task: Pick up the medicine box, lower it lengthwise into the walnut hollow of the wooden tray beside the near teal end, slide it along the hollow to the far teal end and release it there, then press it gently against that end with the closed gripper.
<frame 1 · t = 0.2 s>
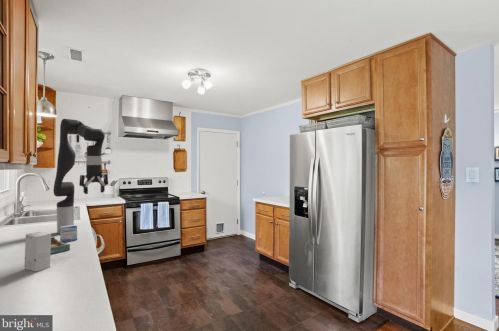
hand: (94, 193, 148), 28 cm above the counter, tool pointing down, fingers open, 8 cm apart
wooden tray: (51, 248, 142), on the counter
skincare box: (38, 268, 114), on the counter
medicine box: (68, 241, 156), on the counter
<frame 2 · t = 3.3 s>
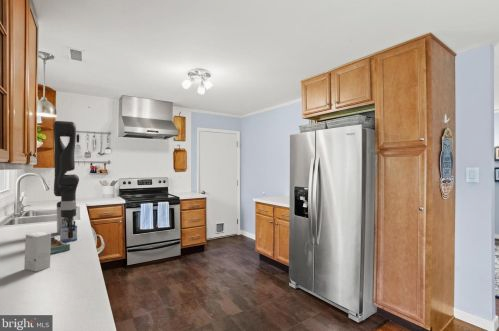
hand: (68, 237, 156), 2 cm above the counter, tool pointing down, fingers closed on medicine box, 5 cm apart
medicine box: (68, 240, 156), on the counter, touching gripper
everything else where it was.
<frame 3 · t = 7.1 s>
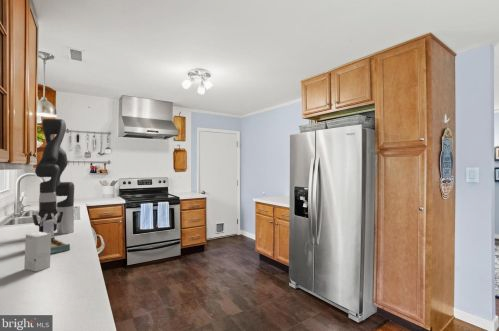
hand: (48, 231, 144), 8 cm above the counter, tool pointing down, fingers closed on medicine box, 5 cm apart
medicine box: (48, 235, 144), point 6 cm above the counter, touching gripper
everything else where it was.
when the fingers open (4 cm above the counter, at t = 10.8 s): medicine box drops 1 cm, resting on wooden tray.
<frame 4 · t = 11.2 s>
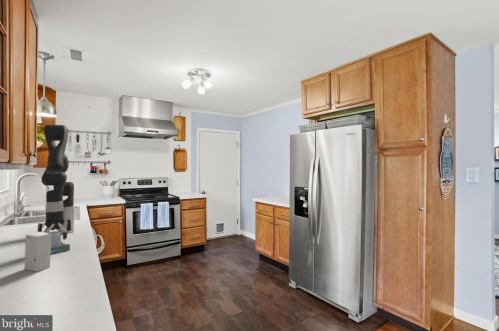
hand: (54, 241, 138), 5 cm above the counter, tool pointing down, fingers open, 8 cm apart
medicine box: (54, 249, 138), resting on wooden tray
everything else where it was.
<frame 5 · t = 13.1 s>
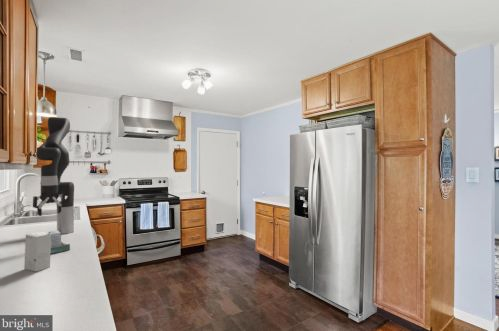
hand: (49, 214, 144), 18 cm above the counter, tool pointing down, fingers open, 8 cm apart
nothing on the counter moved.
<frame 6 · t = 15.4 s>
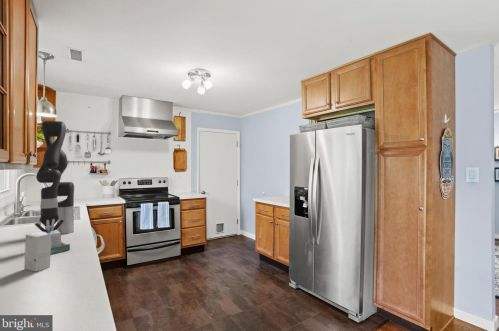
hand: (49, 238, 143), 5 cm above the counter, tool pointing down, fingers closed
nothing on the counter moved.
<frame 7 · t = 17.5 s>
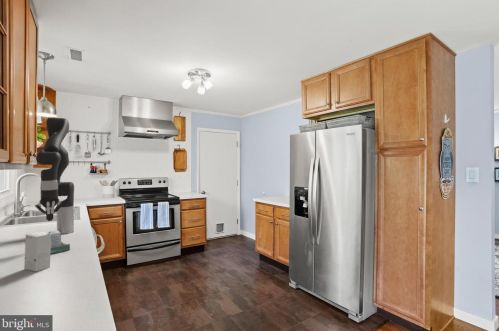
hand: (49, 220, 143), 14 cm above the counter, tool pointing down, fingers closed
nothing on the counter moved.
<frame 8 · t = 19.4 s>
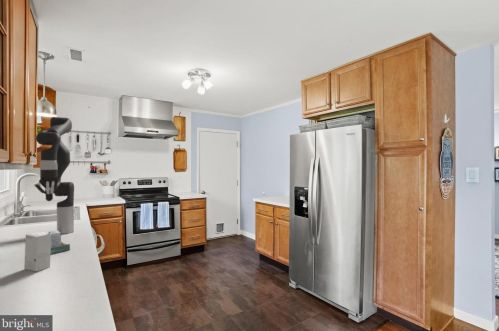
hand: (49, 200, 143), 25 cm above the counter, tool pointing down, fingers closed
nothing on the counter moved.
at the end: medicine box 0.1 cm from the target spot on the wooden tray, point 0.4 cm above the wooden tray's base; medicine box tilted 0°; the gripper is holding nothing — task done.
